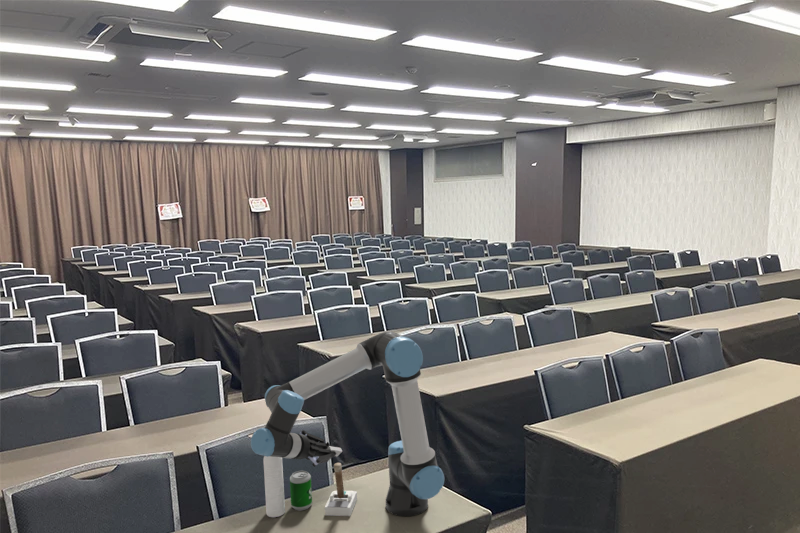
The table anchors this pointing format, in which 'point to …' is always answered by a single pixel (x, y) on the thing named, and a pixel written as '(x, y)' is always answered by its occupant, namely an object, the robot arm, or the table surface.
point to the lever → (339, 481)
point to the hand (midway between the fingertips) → (338, 452)
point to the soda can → (301, 490)
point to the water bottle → (274, 486)
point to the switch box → (341, 504)
